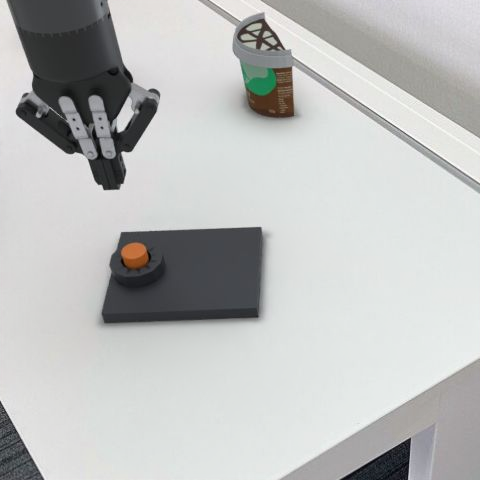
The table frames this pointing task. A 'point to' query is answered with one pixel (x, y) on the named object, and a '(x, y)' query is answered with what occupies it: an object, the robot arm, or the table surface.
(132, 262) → the button
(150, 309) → the scale
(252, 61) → the food container
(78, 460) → the table surface
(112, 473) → the table surface
